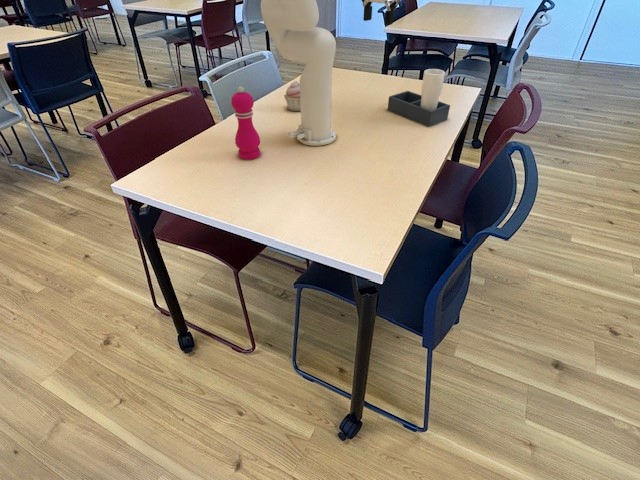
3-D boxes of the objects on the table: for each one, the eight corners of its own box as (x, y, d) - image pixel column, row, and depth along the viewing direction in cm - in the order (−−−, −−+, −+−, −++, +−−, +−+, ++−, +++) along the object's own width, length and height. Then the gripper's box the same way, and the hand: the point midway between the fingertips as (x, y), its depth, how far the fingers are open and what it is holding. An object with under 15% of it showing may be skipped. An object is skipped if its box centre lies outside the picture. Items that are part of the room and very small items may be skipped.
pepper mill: (238, 162, 110) (227, 92, 97) (236, 151, 116) (225, 83, 103) (263, 158, 112) (255, 89, 99) (259, 148, 117) (252, 81, 104)
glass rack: (428, 126, 129) (431, 112, 125) (387, 110, 140) (388, 96, 137) (447, 119, 133) (450, 105, 130) (405, 104, 145) (407, 90, 142)
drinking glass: (435, 113, 136) (443, 68, 126) (438, 120, 131) (447, 75, 121) (416, 112, 136) (423, 68, 127) (418, 119, 131) (425, 74, 122)
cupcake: (308, 113, 139) (308, 85, 133) (283, 113, 139) (281, 85, 133) (310, 103, 146) (309, 76, 140) (285, 103, 146) (284, 76, 140)
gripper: (354, -43, 117) (351, 20, 128) (395, -41, 107) (388, 28, 118) (371, -44, 121) (367, 17, 132) (413, -42, 110) (405, 25, 121)
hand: (377, 22), depth 125 cm, fingers open, 9 cm apart
